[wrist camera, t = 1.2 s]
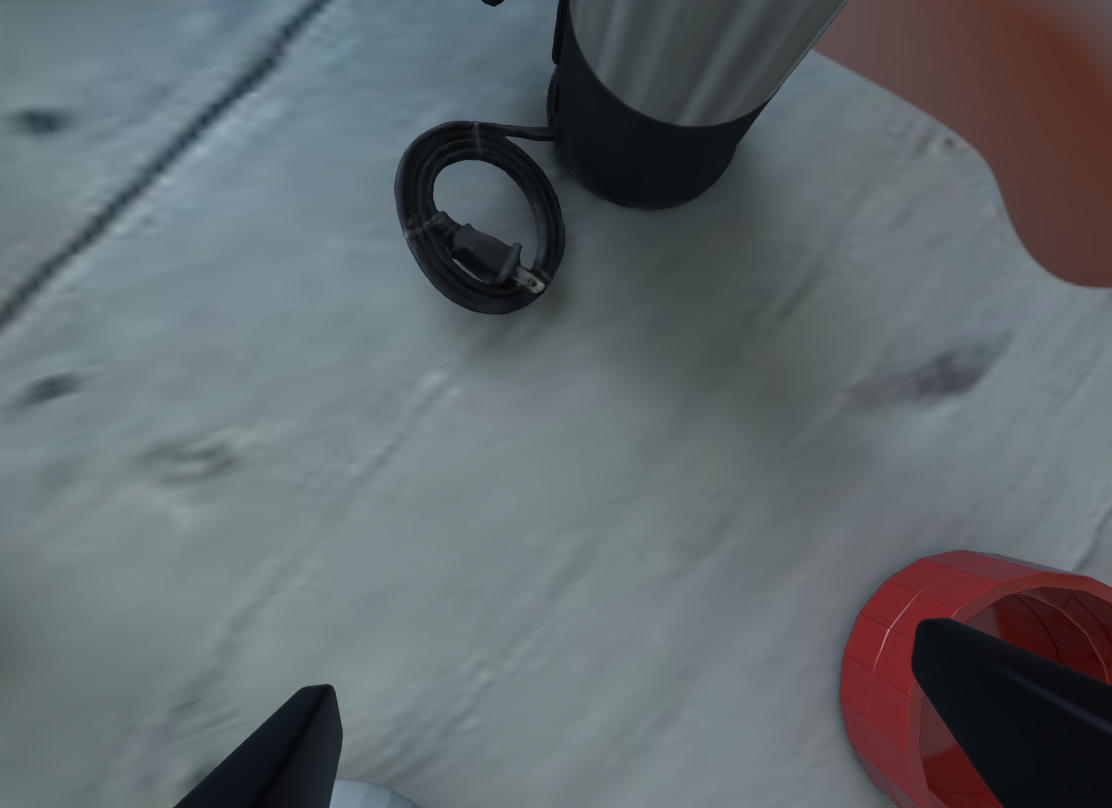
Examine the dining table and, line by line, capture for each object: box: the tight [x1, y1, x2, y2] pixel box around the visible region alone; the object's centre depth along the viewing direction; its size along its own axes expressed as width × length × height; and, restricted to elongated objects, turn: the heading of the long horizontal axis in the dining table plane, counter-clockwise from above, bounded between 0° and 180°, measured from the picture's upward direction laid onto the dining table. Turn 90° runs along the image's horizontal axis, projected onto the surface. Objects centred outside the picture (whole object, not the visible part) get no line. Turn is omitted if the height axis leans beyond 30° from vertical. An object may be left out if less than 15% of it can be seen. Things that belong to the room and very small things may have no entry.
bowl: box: [840, 550, 1112, 808], centre depth 22 cm, size 12×12×4 cm
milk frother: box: [394, 0, 849, 314], centre depth 17 cm, size 14×16×15 cm
